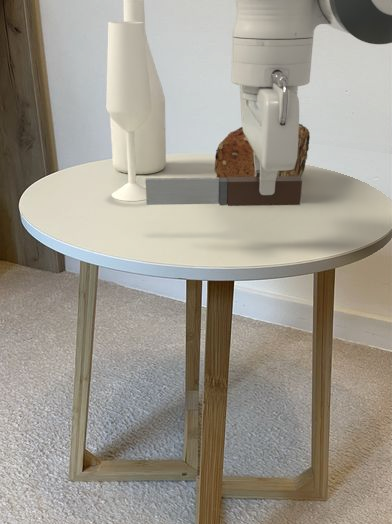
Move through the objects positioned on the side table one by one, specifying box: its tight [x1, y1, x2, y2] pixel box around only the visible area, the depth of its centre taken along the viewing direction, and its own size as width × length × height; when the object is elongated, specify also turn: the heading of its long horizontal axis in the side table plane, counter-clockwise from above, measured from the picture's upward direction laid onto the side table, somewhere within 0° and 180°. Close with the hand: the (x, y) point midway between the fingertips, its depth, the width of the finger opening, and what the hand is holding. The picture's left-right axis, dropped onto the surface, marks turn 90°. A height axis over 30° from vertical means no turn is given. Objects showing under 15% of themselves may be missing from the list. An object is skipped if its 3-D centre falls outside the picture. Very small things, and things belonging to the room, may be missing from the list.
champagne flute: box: [105, 20, 152, 202], centre depth 89 cm, size 7×7×24 cm
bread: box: [214, 123, 311, 178], centre depth 98 cm, size 19×11×10 cm, turn 154°
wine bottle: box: [109, 0, 167, 175], centre depth 101 cm, size 10×10×30 cm
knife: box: [145, 176, 303, 207], centre depth 74 cm, size 19×2×3 cm, turn 92°
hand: (264, 189), depth 74 cm, fingers closed on knife, 2 cm apart
